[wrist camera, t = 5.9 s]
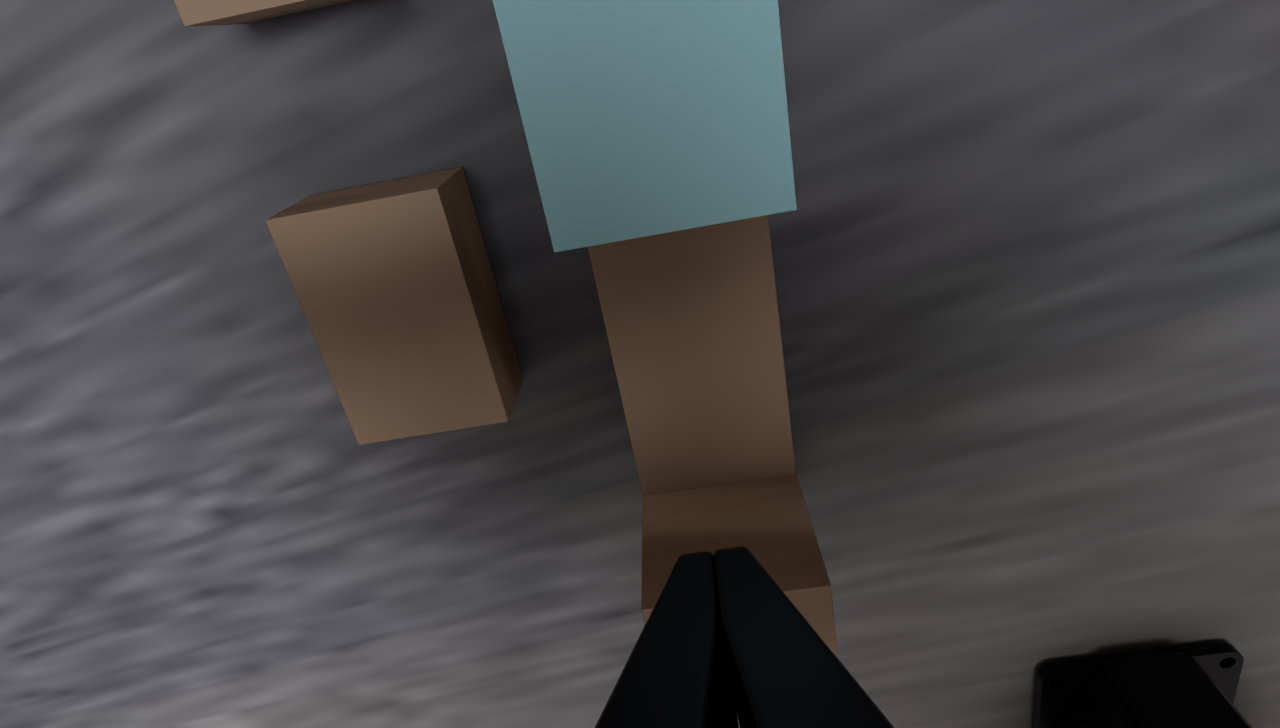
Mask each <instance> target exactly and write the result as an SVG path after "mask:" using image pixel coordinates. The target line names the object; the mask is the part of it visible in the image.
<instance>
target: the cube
mask: <svg viewBox="0 0 1280 728" xmlns="http://www.w3.org/2000/svg"><path fill="white" fill-rule="evenodd" d="M493 4H494V8H495V12H496V16H497V20H498V24H499V28H500V32H501V36H502V40H503V45H504V49H505V53H506V57H507V61H508V65H509V69H510V73H511V77H512V81H513V85H514V90H515V94H516V98H517V102H518V106H519V110H520V114H521V118H522V122H523V126H524V131H525V135H526V139H527V143H528V147H529V151H530V155H531V159H532V163H533V167H534V171H535V176H536V180H537V184H538V188H539V192H540V196H541V200H542V204H543V208H544V212H545V216H546V221H547V225H548V229H549V233H550V237H551V241H552V245H553V249H554V253H555V252H560V251H566V250H572V249H577V248H583V247H589V246H594V245H600V244H606V243H611V242H617V241H623V240H628V239H634V238H640V237H645V236H651V235H657V234H662V233H668V232H674V231H679V230H685V229H691V228H696V227H702V226H708V225H713V224H719V223H725V222H730V221H736V220H742V219H747V218H753V217H759V216H764V215H770V214H776V213H781V212H787V211H793V210H797V207H796V196H795V185H794V174H793V163H792V152H791V141H790V130H789V119H788V108H787V97H786V86H785V75H784V64H783V53H782V42H781V31H780V20H779V9H778V0H493Z"/></svg>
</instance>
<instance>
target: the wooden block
mask: <svg viewBox="0 0 1280 728" xmlns="http://www.w3.org/2000/svg"><path fill="white" fill-rule="evenodd" d="M588 251H589V256H590V260H591V265H592V269H593V274H594V278H595V283H596V287H597V292H598V296H599V301H600V305H601V310H602V314H603V319H604V323H605V328H606V332H607V336H608V341H609V345H610V350H611V354H612V359H613V363H614V368H615V372H616V377H617V381H618V386H619V390H620V395H621V399H622V404H623V408H624V413H625V417H626V422H627V426H628V431H629V435H630V440H631V444H632V449H633V453H634V458H635V462H636V467H637V471H638V476H639V480H640V485H641V489H642V494H643V543H642V614H643V618H644V622H645V624H646V622H647V620H648V618H649V616H650V614H651V612H652V610H653V608H654V606H655V604H656V602H657V600H658V598H659V596H660V594H661V592H662V590H663V588H664V586H665V583H666V581H667V579H668V577H669V575H670V573H671V571H672V569H673V567H674V565H675V563H676V561H677V559H678V557H679V556H680V555H682V554H684V553H692V552H699V551H710V552H711V553H712V554H713V557H714V552H715V551H716V550H717V549H721V548H728V547H735V546H745V547H746V548H748V549H749V550H750V552H751V553H752V554H753V555H754V557H755V558H756V559H757V560H758V561H759V563H760V564H761V565H762V566H763V568H764V569H765V570H766V571H767V572H768V574H769V575H770V576H771V577H772V579H773V580H774V581H775V582H776V584H777V585H778V586H779V587H780V588H781V590H782V591H783V592H784V593H785V595H786V596H787V597H788V598H789V599H790V601H791V602H792V603H793V604H794V606H795V607H796V608H797V609H798V610H799V612H800V613H801V614H802V615H803V617H804V618H805V619H806V620H807V621H808V623H809V624H810V625H811V626H812V628H813V629H814V630H815V631H816V632H817V634H818V635H819V636H820V637H821V639H822V640H823V641H824V642H825V643H826V645H827V646H828V647H829V648H830V650H831V651H832V652H833V653H834V654H837V647H836V636H835V625H834V614H833V603H832V592H831V584H830V581H829V578H828V575H827V571H826V568H825V565H824V562H823V559H822V555H821V552H820V549H819V546H818V543H817V540H816V536H815V533H814V530H813V527H812V524H811V520H810V517H809V514H808V511H807V508H806V504H805V501H804V498H803V495H802V492H801V489H800V485H799V482H798V479H797V476H796V469H795V460H794V451H793V441H792V432H791V423H790V414H789V405H788V395H787V386H786V377H785V368H784V359H783V349H782V340H781V331H780V322H779V313H778V304H777V294H776V285H775V276H774V267H773V258H772V248H771V239H770V230H769V221H768V215H764V216H759V217H753V218H747V219H742V220H736V221H730V222H725V223H719V224H713V225H708V226H702V227H696V228H691V229H685V230H679V231H674V232H668V233H662V234H657V235H651V236H645V237H640V238H634V239H628V240H623V241H617V242H611V243H606V244H600V245H594V246H589V247H588Z"/></svg>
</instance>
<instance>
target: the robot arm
mask: <svg viewBox="0 0 1280 728" xmlns="http://www.w3.org/2000/svg"><path fill="white" fill-rule="evenodd" d="M1242 665H1243V656H1242V655H1241V654H1240V653H1239V652H1238V651H1237V650H1236V649H1235V647H1234V646H1233V645H1232V644H1229V643H1216V644H1207V645H1198V646H1190V647H1181V648H1173V649H1164V650H1156V651H1147V652H1138V653H1130V654H1121V655H1113V656H1104V657H1095V658H1087V659H1078V660H1070V661H1061V662H1053V663H1049V664H1046V665H1044V666H1042V667H1041V668H1040V669H1039V670H1038V672H1037V678H1036V691H1035V704H1034V717H1033V728H1252V727H1251V725H1250V724H1249V723H1248V722H1247V721H1246V719H1245V718H1244V717H1243V716H1242V715H1241V713H1240V712H1239V711H1238V710H1237V709H1236V707H1235V706H1234V705H1233V701H1234V697H1235V693H1236V689H1237V685H1238V681H1239V677H1240V673H1241V669H1242ZM737 713H738V715H737ZM738 719H739V724H740V728H894V727H893V725H892V724H891V723H890V722H889V721H888V719H887V718H886V717H885V716H884V714H883V713H882V712H881V711H880V710H879V708H878V707H877V706H876V705H875V703H874V702H873V701H872V700H871V699H870V697H869V696H868V695H867V694H866V692H865V691H864V690H863V689H862V688H861V686H860V685H859V684H858V683H857V681H856V680H855V679H854V678H853V677H852V675H851V674H850V673H849V672H848V670H847V669H846V668H845V667H844V666H843V664H842V663H841V662H840V661H839V659H838V658H837V657H836V656H835V654H834V653H833V652H832V651H831V650H830V648H829V647H828V646H827V645H826V643H825V642H824V641H823V640H822V639H821V637H820V636H819V635H818V634H817V632H816V631H815V630H814V629H813V628H812V626H811V625H810V624H809V623H808V621H807V620H806V619H805V618H804V617H803V615H802V614H801V613H800V612H799V610H798V609H797V608H796V607H795V606H794V604H793V603H792V602H791V601H790V599H789V598H788V597H787V596H786V595H785V593H784V592H783V591H782V590H781V588H780V587H779V586H778V585H777V584H776V582H775V581H774V580H773V579H772V577H771V576H770V575H769V574H768V572H767V571H766V570H765V569H764V568H763V566H762V565H761V564H760V563H759V561H758V560H757V559H756V558H755V557H754V555H753V554H752V553H751V552H750V550H749V549H748V548H746V547H745V546H735V547H728V548H721V549H717V550H716V551H715V552H714V557H713V554H712V553H711V552H710V551H699V552H692V553H684V554H682V555H680V556H679V557H678V559H677V561H676V563H675V565H674V567H673V569H672V571H671V573H670V575H669V577H668V579H667V581H666V583H665V586H664V588H663V590H662V592H661V594H660V596H659V598H658V600H657V602H656V604H655V606H654V608H653V610H652V612H651V614H650V616H649V618H648V620H647V622H646V624H645V626H644V628H643V630H642V632H641V634H640V637H639V639H638V641H637V643H636V645H635V647H634V649H633V651H632V653H631V655H630V657H629V659H628V661H627V663H626V665H625V667H624V669H623V671H622V673H621V675H620V677H619V679H618V681H617V683H616V685H615V688H614V690H613V692H612V694H611V696H610V698H609V700H608V702H607V704H606V706H605V708H604V710H603V712H602V714H601V716H600V718H599V720H598V722H597V724H596V726H595V728H739V725H738Z"/></svg>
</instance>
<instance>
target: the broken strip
mask: <svg viewBox="0 0 1280 728" xmlns="http://www.w3.org/2000/svg"><path fill="white" fill-rule="evenodd" d="M174 1H175V4H176V6H177V9H178V11H179V14H180V16H181V18H182V21H183V23H184V26H204V25H230V24H247V23H252V22H256V21H261V20H266V19H270V18H275V17H280V16H284V15H289V14H294V13H298V12H303V11H308V10H312V9H317V8H322V7H326V6H331V5H336V4H340V3H345V2H350V1H354V0H174ZM266 223H267V225H268V228H269V230H270V232H271V235H272V237H273V240H274V242H275V244H276V247H277V249H278V252H279V254H280V256H281V259H282V261H283V264H284V266H285V268H286V271H287V273H288V276H289V278H290V280H291V283H292V285H293V288H294V290H295V293H296V295H297V297H298V300H299V302H300V305H301V307H302V309H303V312H304V314H305V317H306V319H307V321H308V324H309V326H310V329H311V331H312V333H313V336H314V338H315V341H316V343H317V345H318V348H319V350H320V353H321V355H322V357H323V360H324V362H325V365H326V367H327V369H328V372H329V374H330V377H331V379H332V382H333V384H334V386H335V389H336V391H337V394H338V396H339V398H340V401H341V403H342V406H343V408H344V410H345V413H346V415H347V418H348V420H349V422H350V425H351V427H352V430H353V432H354V434H355V437H356V439H357V442H358V444H359V445H362V444H368V443H375V442H381V441H388V440H394V439H400V438H407V437H413V436H420V435H426V434H432V433H439V432H445V431H452V430H458V429H465V428H471V427H477V426H484V425H490V424H497V423H503V422H508V421H509V418H510V415H511V412H512V409H513V406H514V403H515V401H516V398H517V395H518V392H519V389H520V386H521V383H522V380H523V377H522V373H521V370H520V366H519V363H518V359H517V356H516V352H515V349H514V345H513V342H512V338H511V335H510V331H509V328H508V324H507V321H506V317H505V314H504V310H503V307H502V303H501V300H500V296H499V293H498V289H497V286H496V282H495V279H494V275H493V272H492V268H491V265H490V261H489V258H488V254H487V251H486V247H485V244H484V240H483V237H482V233H481V230H480V226H479V223H478V219H477V216H476V212H475V209H474V205H473V202H472V198H471V195H470V191H469V188H468V184H467V181H466V177H465V174H464V170H463V167H458V168H453V169H448V170H442V171H437V172H432V173H427V174H421V175H416V176H411V177H406V178H400V179H395V180H390V181H384V182H379V183H374V184H369V185H363V186H358V187H353V188H348V189H342V190H337V191H332V192H326V193H321V194H316V195H311V196H309V197H307V198H305V199H303V200H301V201H300V202H298V203H296V204H294V205H292V206H291V207H289V208H287V209H285V210H283V211H282V212H280V213H278V214H276V215H274V216H272V217H271V218H269V219H267V220H266Z"/></svg>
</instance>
